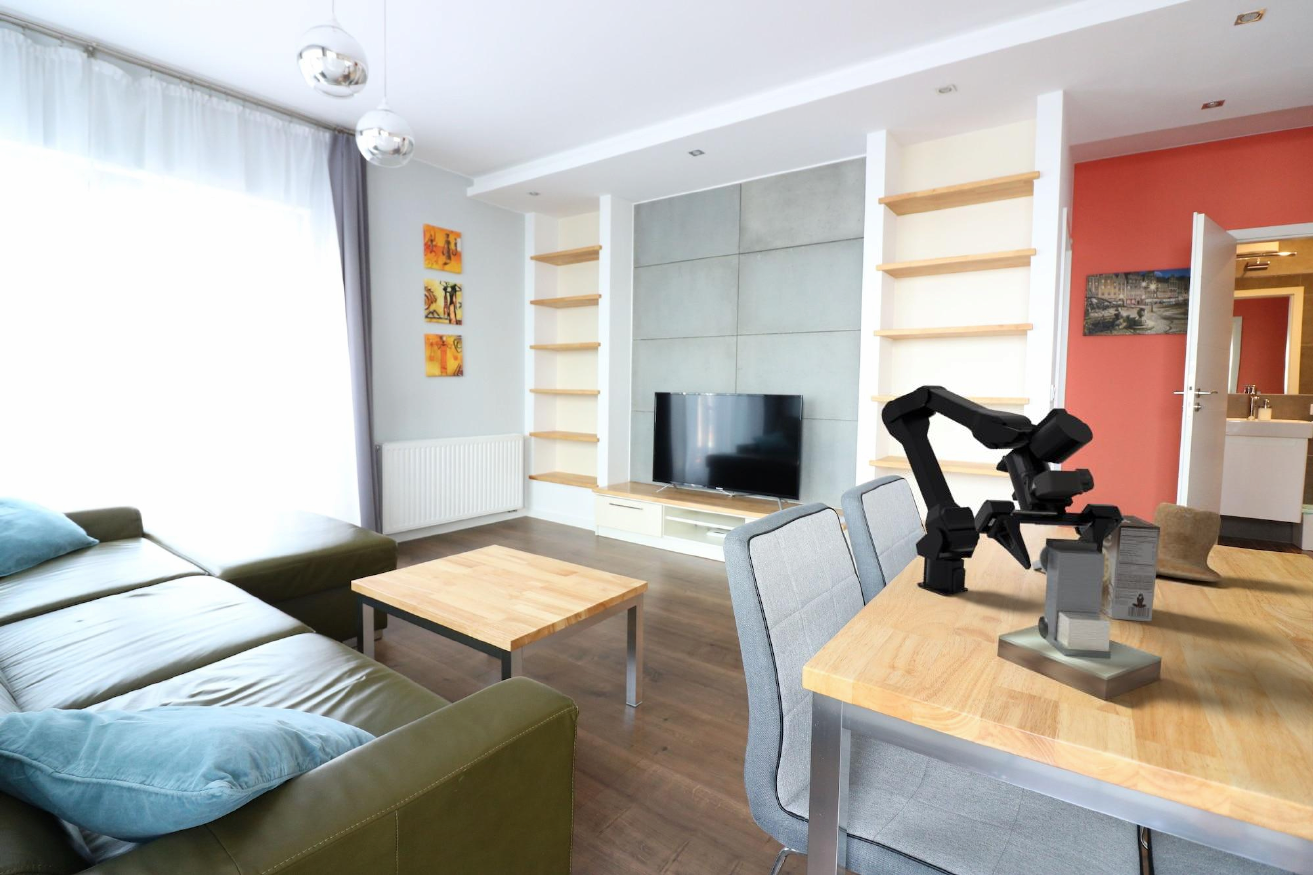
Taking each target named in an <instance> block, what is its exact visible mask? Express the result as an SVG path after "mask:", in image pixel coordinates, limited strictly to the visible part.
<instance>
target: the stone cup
mask: <svg viewBox="0 0 1313 875" xmlns="http://www.w3.org/2000/svg"><path fill="white" fill-rule="evenodd" d="M1152 521H1153V523H1152V524H1154V525H1156V526H1158V527H1161V529H1160V539H1159V549H1158V559H1157V569H1156V576H1163V577H1168V578H1169V577H1170V578H1174V579H1183V580H1190V581H1191V580H1192V581H1203V582H1219V581H1220V580H1221V579H1222V576H1221V574H1220V573H1219V572H1217V571H1215V570H1214V569H1213V568H1211V567H1210V566H1209V564H1208V558H1209V555H1210V552H1211V551H1212V549H1213V548H1214V546H1215V544H1216V542H1217V540H1218V538H1219V536H1220V529H1221V522H1222V520H1221V516H1220V515H1219V513H1217V512H1215V511H1212V510H1207V509H1202V508H1195V507H1187V506H1185V505H1180V504H1175V503H1169V502H1160V503H1159V504H1158V505H1157V507H1156V509H1155V511H1154V514H1153V520H1152Z"/></svg>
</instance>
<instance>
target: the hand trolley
mask: <svg viewBox="0 0 1313 875" xmlns="http://www.w3.org/2000/svg"><path fill="white" fill-rule="evenodd" d="M1045 545H1046V546H1048V547H1049V555H1048V569H1047V574H1046V585H1045V596H1044V597H1045V598H1044V609H1043V610H1044V612H1043V615H1042V616H1040V617H1039V618H1038V622H1037V625H1038V629H1039V633H1040V635H1041V637H1042V638H1044V639H1046V641H1047V642H1048V643H1049V644H1051V645H1052V646H1053V647H1054V648H1055V649H1057V650H1058V651H1059V652H1060V653H1061V654H1063V655H1064V656H1074V657H1089V658H1104V659H1110V657H1111V651H1110V650H1109V640H1111V639H1110V638H1111V624H1112V621H1111V620H1110V619H1108V618H1106V617H1105V616H1103V615H1102V614H1101V612H1102V611H1101V598H1102V586H1103V574H1104V561H1105V555H1104V554H1102V553H1100V552H1098V551H1097V544H1096V543H1094V542H1092V541H1090V540H1078V539H1072V538H1071V539H1069V538H1048V537H1047V538H1045Z"/></svg>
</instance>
